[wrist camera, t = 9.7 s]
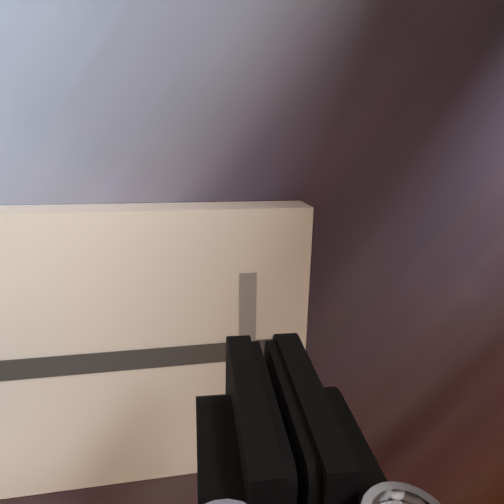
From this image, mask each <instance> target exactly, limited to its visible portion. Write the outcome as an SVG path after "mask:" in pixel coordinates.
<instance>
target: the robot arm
mask: <svg viewBox="0 0 504 504" xmlns="http://www.w3.org/2000/svg"><path fill="white" fill-rule="evenodd" d="M196 433H197V479H198V504H440V503H439V502H438V501H437V500H436V499H435V498H434V497H432V496H431V495H429V494H428V493H427V492H425V491H424V490H422V489H420V488H417V487H415V486H413V485H410V484H408V483H402V482H396V481H391V482H387V480H386V478H385V476H384V474H383V472H382V470H381V468H380V466H379V465H378V463H377V461H376V459H375V457H374V455H373V453H372V451H371V449H370V447H369V445H368V444H367V442H366V440H365V438H364V436H363V434H362V432H361V430H360V428H359V426H358V424H357V423H356V421H355V419H354V417H353V415H352V413H351V411H350V409H349V407H348V405H347V404H346V402H345V400H344V398H343V396H342V394H341V392H340V391H339V389H338V388H336V387H323V386H322V384H321V382H320V380H319V378H318V375H317V373H316V371H315V369H314V367H313V365H312V363H311V361H310V359H309V356H308V354H307V352H306V350H305V348H304V346H303V344H302V342H301V339H300V337H299V335H298V334H297V333H283V334H274V335H273V338H272V340H266V341H265V345H264V356H263V352H262V349H261V345H260V342H259V341H251V337H250V335H242V336H227V337H226V385H225V394H221V395H207V396H196Z"/></svg>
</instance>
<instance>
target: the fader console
mask: <svg viewBox="0 0 504 504" xmlns="http://www.w3.org/2000/svg"><path fill="white" fill-rule="evenodd" d="M313 210H314V208H313V207H312V206H310V205H308V204H306V203H304V202H302V201H245V202H186V203H127V204H68V205H9V206H0V499H7V498H14V497H22V496H29V495H37V494H44V493H51V492H59V491H66V490H74V489H81V488H88V487H96V486H103V485H111V484H118V483H125V482H133V481H140V480H148V479H155V478H162V477H170V476H177V475H185V474H192V473H197V433H196V396H207V395H221V394H225V385H226V337H227V336H242V335H250V337H251V341H259V342H260V345H261V349H262V352H263V356H264V345H265V341H266V340H272V338H273V335H274V334H283V333H297V334H298V335H299V337H300V339H301V342H302V344H303V346H304V348H305V350H306V334H307V316H308V299H309V281H310V263H311V246H312V228H313Z"/></svg>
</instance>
